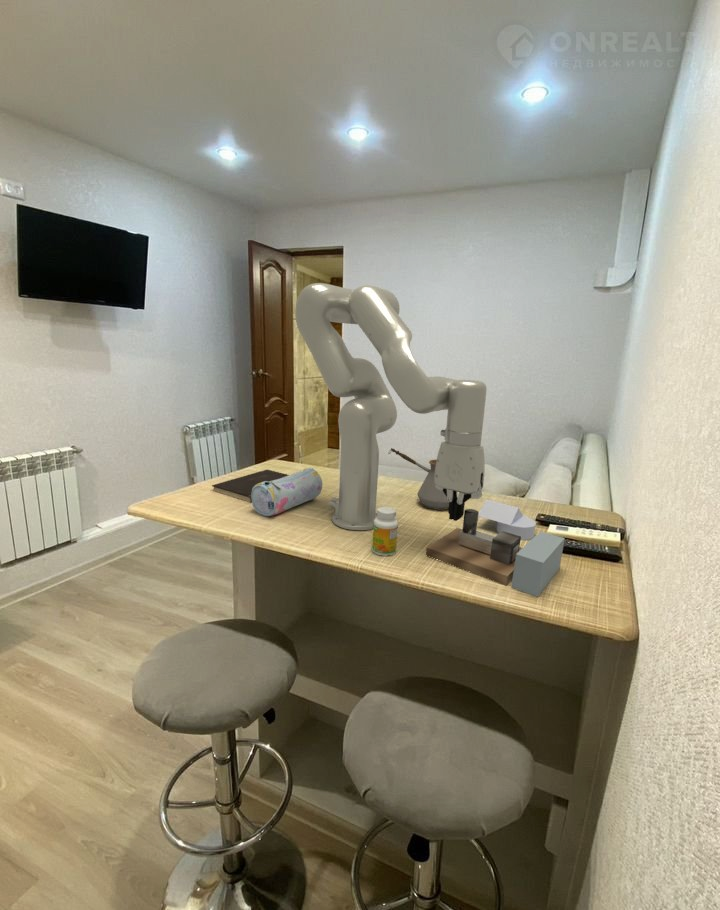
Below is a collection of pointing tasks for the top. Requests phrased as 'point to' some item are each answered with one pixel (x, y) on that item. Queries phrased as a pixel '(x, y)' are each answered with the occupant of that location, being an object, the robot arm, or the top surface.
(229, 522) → the top surface
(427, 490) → the coffee pot
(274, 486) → the pencil case
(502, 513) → the wedge on round base
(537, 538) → the block
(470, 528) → the bolt
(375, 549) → the supplement bottle
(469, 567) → the door panel
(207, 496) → the top surface
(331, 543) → the top surface
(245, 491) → the hardcover book
